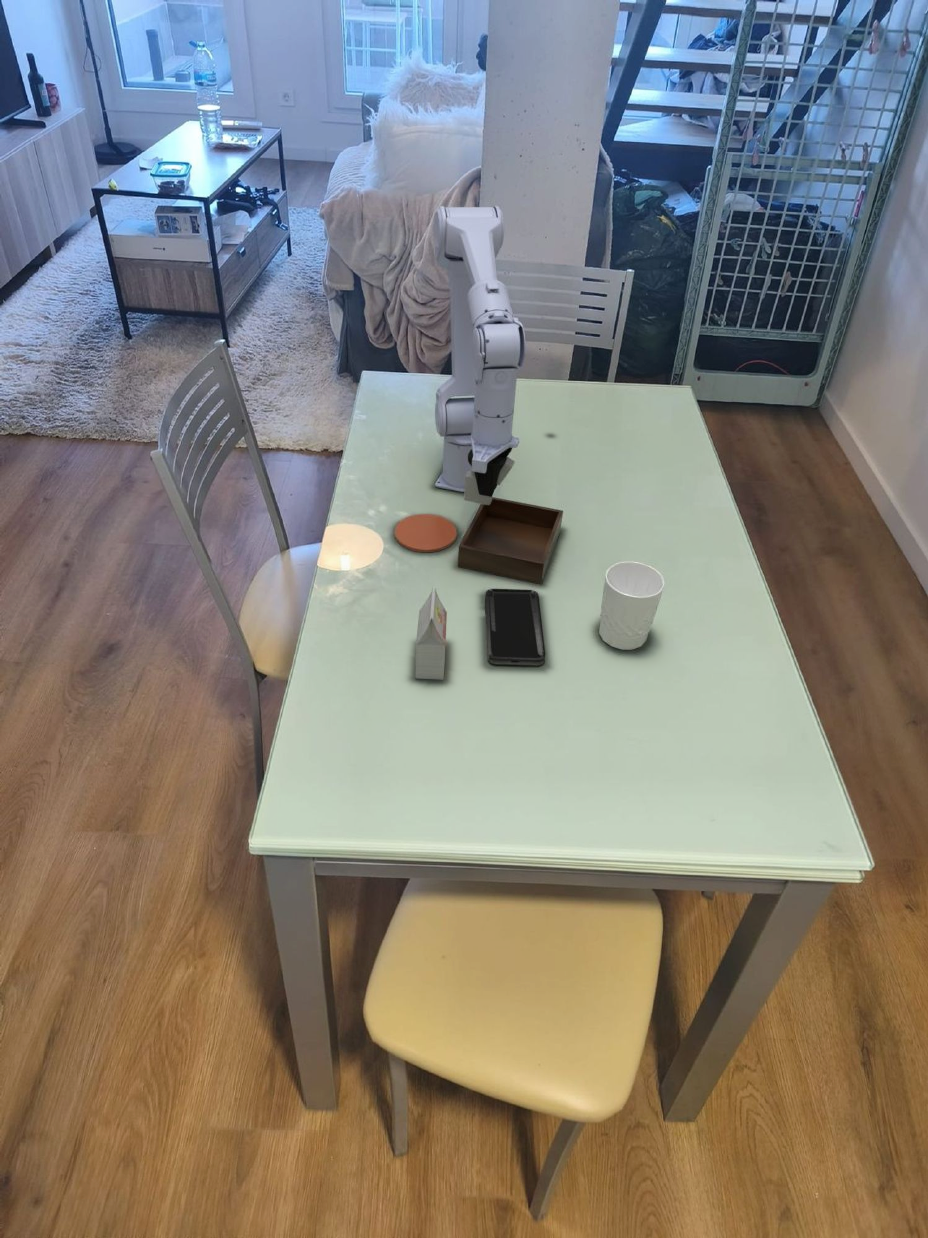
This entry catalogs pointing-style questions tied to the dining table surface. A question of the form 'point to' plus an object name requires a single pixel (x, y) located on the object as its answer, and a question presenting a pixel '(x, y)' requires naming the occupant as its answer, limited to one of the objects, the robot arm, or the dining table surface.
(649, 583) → the white cup
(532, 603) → the phone
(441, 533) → the coaster
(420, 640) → the milk carton
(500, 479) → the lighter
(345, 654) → the dining table surface
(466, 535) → the tray
